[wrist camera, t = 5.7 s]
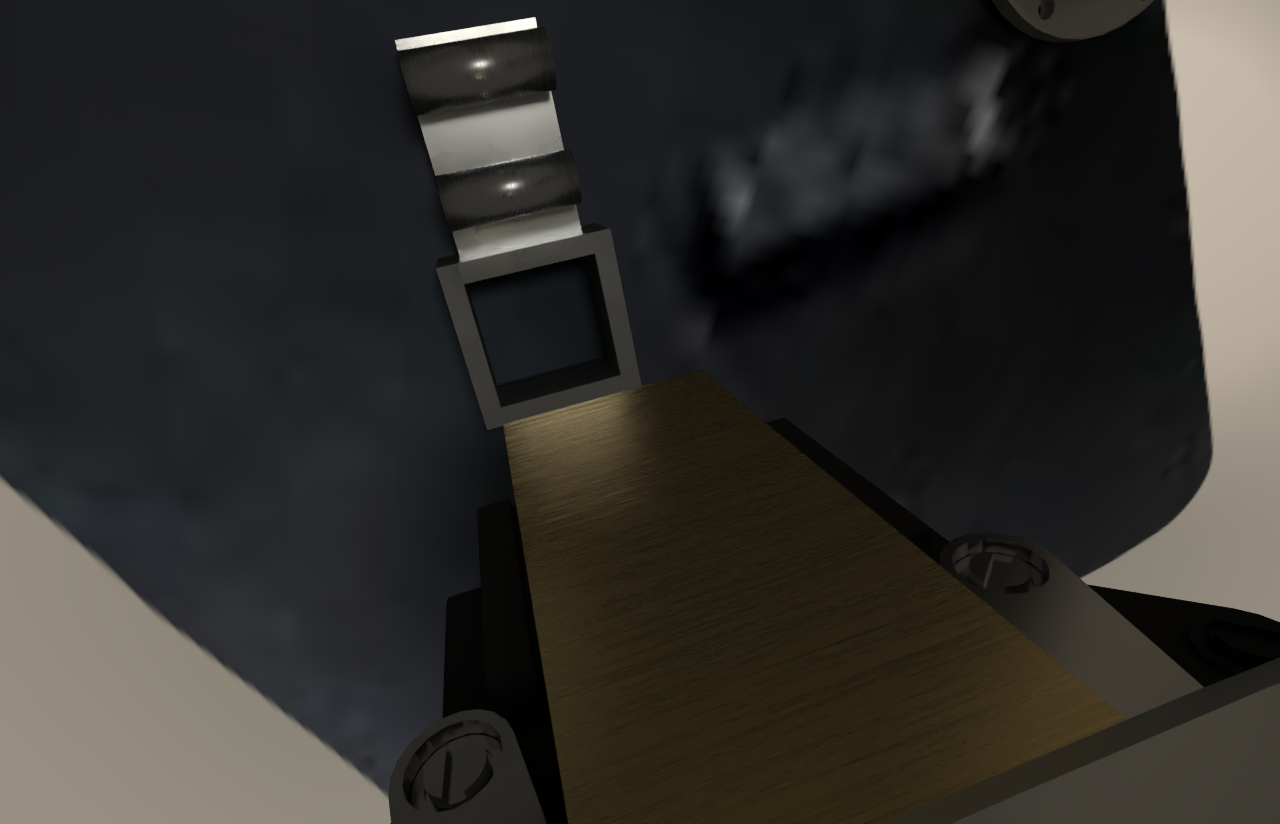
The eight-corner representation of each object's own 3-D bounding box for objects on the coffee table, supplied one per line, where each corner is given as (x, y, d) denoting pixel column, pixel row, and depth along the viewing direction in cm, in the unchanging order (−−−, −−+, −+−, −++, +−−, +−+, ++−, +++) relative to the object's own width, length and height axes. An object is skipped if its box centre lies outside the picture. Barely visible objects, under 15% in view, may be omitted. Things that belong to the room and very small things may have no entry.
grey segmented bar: (553, 22, 24) (567, -1, 21) (653, 501, 33) (673, 536, 30) (373, 52, 23) (360, 32, 20) (526, 540, 32) (534, 581, 28)
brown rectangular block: (701, 369, 12) (1351, 901, 3) (726, 534, 14) (1213, 1199, 5) (502, 424, 12) (642, 1278, 3) (553, 591, 13) (748, 1478, 4)
